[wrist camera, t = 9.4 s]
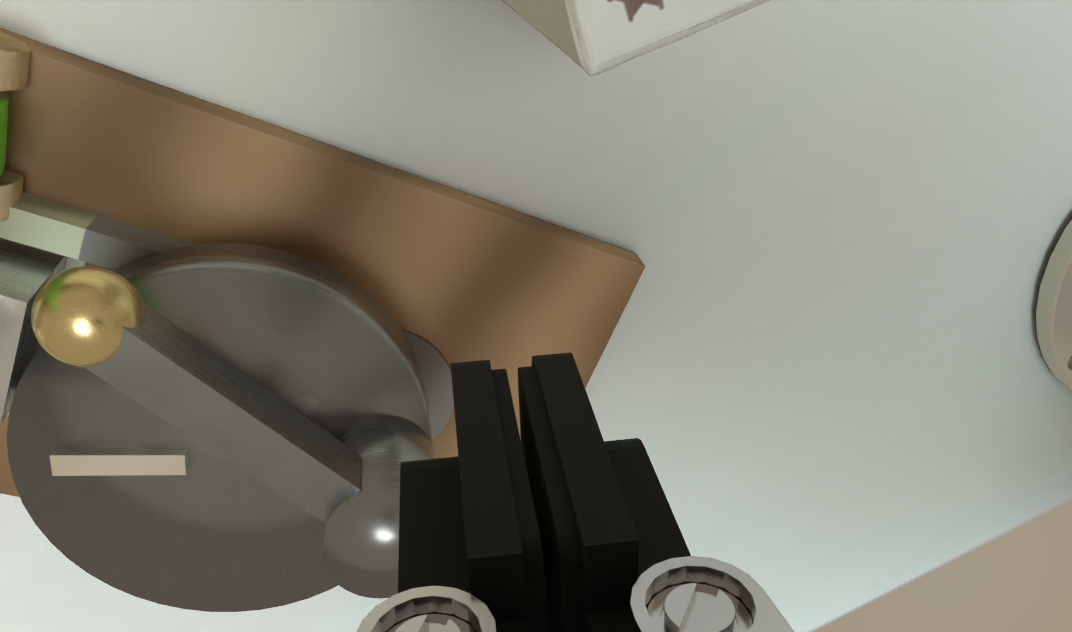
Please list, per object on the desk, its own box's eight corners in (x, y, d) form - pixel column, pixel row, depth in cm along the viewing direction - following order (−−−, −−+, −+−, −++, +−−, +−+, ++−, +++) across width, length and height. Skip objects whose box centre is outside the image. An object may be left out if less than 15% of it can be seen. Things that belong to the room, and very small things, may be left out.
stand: (635, 253, 31) (676, 307, 27) (481, 570, 36) (496, 655, 32) (-91, -4, 24) (-184, 18, 20) (-156, 437, 29) (-240, 526, 25)
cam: (442, 206, 27) (468, 310, 21) (416, 541, 33) (430, 709, 26) (16, 181, 25) (-114, 290, 18) (65, 548, 30) (-20, 736, 24)
